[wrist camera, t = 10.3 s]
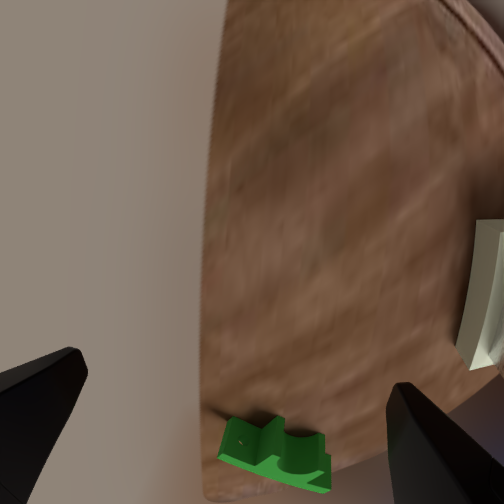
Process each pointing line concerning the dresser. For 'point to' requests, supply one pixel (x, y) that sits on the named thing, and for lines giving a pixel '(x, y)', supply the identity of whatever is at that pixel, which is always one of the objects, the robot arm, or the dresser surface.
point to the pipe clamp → (277, 454)
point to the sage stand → (483, 295)
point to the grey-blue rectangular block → (498, 345)
